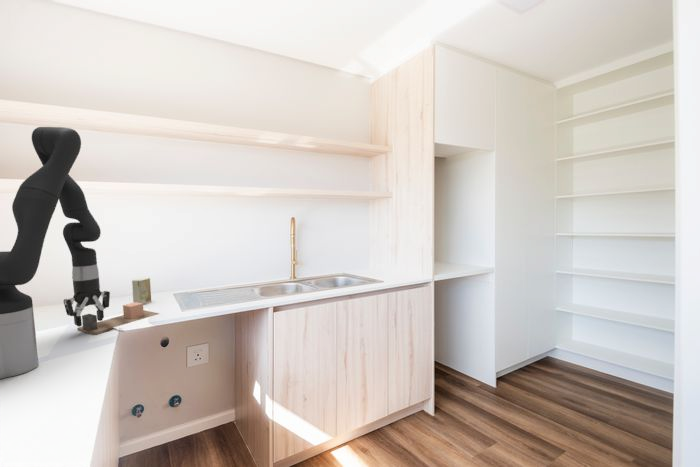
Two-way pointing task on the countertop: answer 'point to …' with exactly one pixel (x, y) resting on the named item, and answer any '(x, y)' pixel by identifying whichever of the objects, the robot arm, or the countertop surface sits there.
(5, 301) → the robot arm
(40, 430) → the countertop surface
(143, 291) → the skincare box
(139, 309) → the terracotta block
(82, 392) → the countertop surface
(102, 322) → the walnut strip
